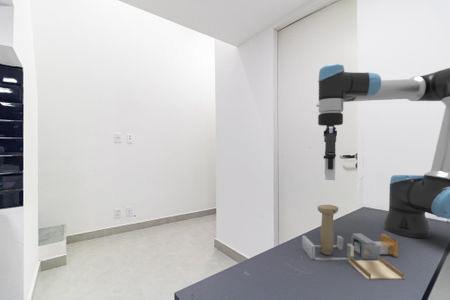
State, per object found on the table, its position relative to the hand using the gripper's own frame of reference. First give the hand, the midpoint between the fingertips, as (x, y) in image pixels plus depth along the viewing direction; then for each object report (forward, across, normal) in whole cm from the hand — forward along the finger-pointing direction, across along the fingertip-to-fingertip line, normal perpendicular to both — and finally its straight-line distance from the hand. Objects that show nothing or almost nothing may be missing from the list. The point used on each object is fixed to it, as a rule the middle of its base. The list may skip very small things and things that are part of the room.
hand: (329, 176), depth 79 cm
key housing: (+24, 0, +11) cm, 27 cm away
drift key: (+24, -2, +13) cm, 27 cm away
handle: (+24, +5, -1) cm, 25 cm away
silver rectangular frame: (+24, +5, -1) cm, 25 cm away
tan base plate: (+24, +10, +12) cm, 29 cm away
